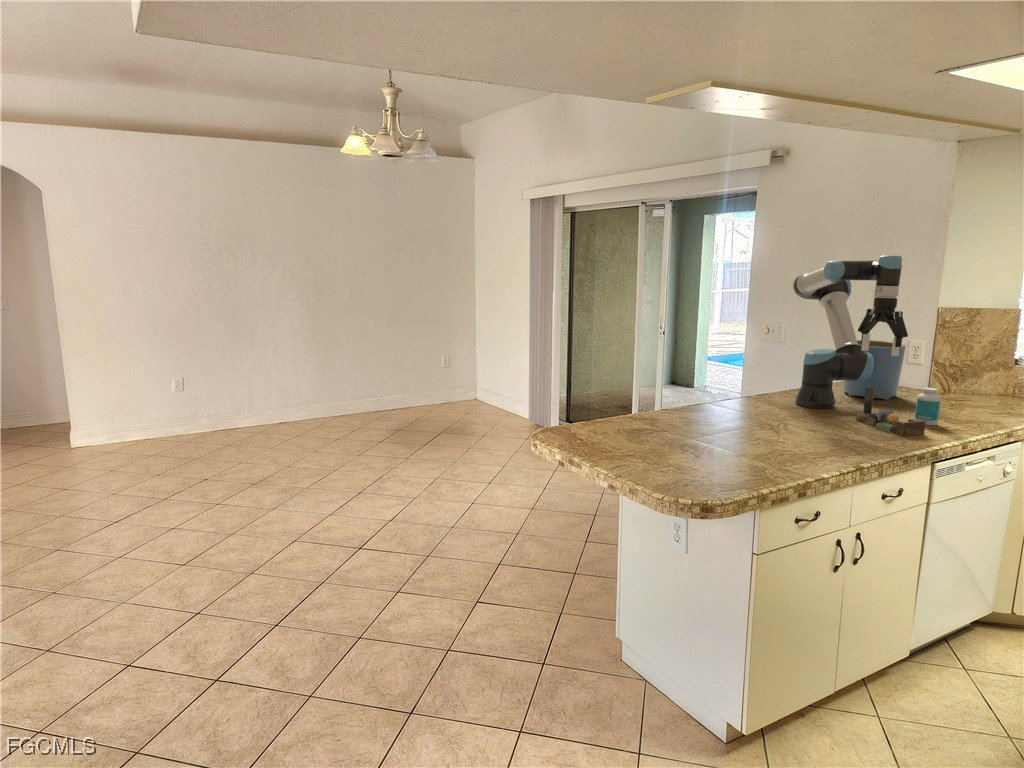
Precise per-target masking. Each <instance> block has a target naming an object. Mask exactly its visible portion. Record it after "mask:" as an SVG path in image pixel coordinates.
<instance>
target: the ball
mask: <svg viewBox="0 0 1024 768" xmlns="http://www.w3.org/2000/svg"><path fill="white" fill-rule="evenodd" d="M887 419H888V422H890V423H893V420H897V421H900V416H899V415H898V414H896V413H894V414H890V415H889V416H888V418H887Z"/></svg>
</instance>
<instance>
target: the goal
mask: <svg viewBox="0 0 1024 768" xmlns="http://www.w3.org/2000/svg"><path fill="white" fill-rule="evenodd" d="M903 422H904V421H901V422H900V420H899V421H897V420H893V423H892V430H891V432H890V433H893V434H895V435H898V436H902V437H914V436H917V437H918V436H924V435H925V427H926V425H925V422H926V421H917V420H914V419H913V418H908V420H907V421H905V422H904V423H903Z"/></svg>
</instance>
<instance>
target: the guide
mask: <svg viewBox="0 0 1024 768" xmlns="http://www.w3.org/2000/svg"><path fill="white" fill-rule="evenodd" d="M855 421H857V422H860V421H861V423H864V424H866V425H870V426H876V423H883V422H889V421H888V420H884V421H879V420H877V422H876V419H874V418H871V417H868V416H865V415H862V414H859V413H855Z"/></svg>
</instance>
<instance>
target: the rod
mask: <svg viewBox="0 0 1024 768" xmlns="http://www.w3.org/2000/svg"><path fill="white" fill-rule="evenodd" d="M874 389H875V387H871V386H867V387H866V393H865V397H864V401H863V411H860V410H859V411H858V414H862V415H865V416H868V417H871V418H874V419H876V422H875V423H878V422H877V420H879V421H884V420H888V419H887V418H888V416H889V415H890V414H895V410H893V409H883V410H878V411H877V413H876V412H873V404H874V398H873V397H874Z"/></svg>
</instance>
